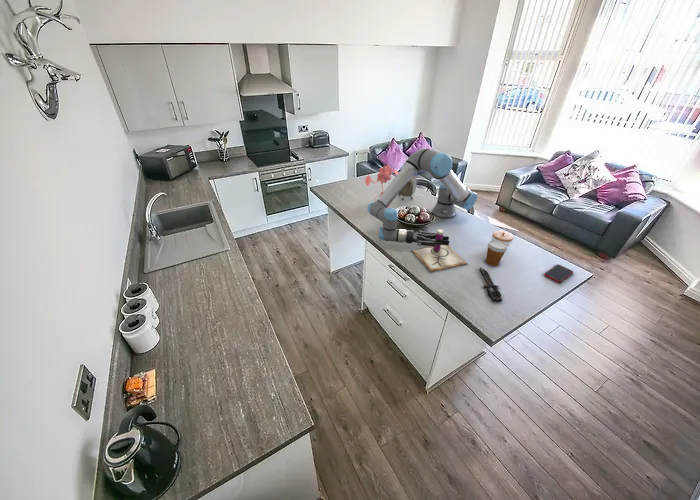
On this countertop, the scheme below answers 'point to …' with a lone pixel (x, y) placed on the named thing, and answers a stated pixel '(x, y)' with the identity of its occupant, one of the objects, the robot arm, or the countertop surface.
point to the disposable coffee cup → (495, 252)
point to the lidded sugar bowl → (502, 237)
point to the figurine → (382, 176)
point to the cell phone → (558, 273)
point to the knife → (491, 286)
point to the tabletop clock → (409, 188)
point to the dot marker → (438, 236)
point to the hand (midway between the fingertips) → (448, 241)
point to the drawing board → (439, 258)
